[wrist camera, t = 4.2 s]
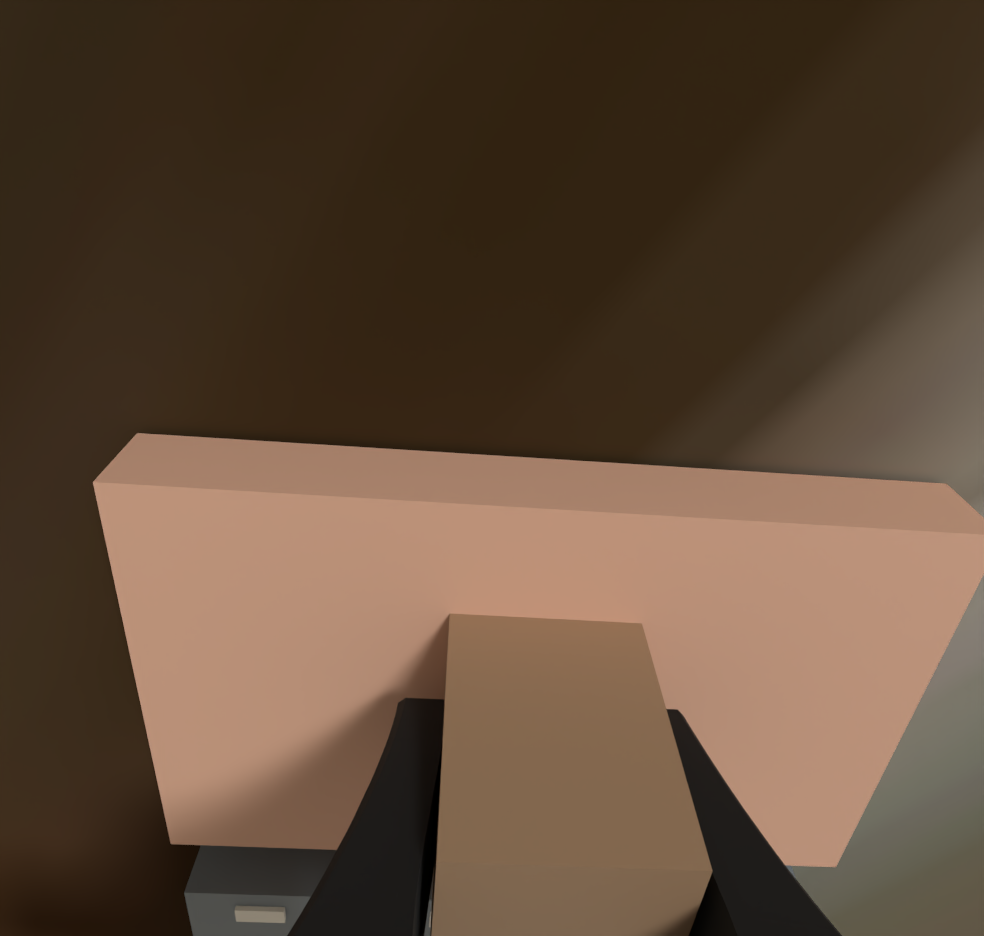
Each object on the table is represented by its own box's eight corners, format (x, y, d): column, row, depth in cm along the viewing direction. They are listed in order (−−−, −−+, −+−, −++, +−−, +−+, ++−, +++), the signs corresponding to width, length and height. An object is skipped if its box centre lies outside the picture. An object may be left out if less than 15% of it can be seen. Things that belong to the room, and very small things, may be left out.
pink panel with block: (946, 483, 12) (1253, 765, 7) (806, 800, 16) (947, 1119, 11) (137, 433, 11) (-111, 707, 7) (197, 776, 15) (68, 1106, 11)
